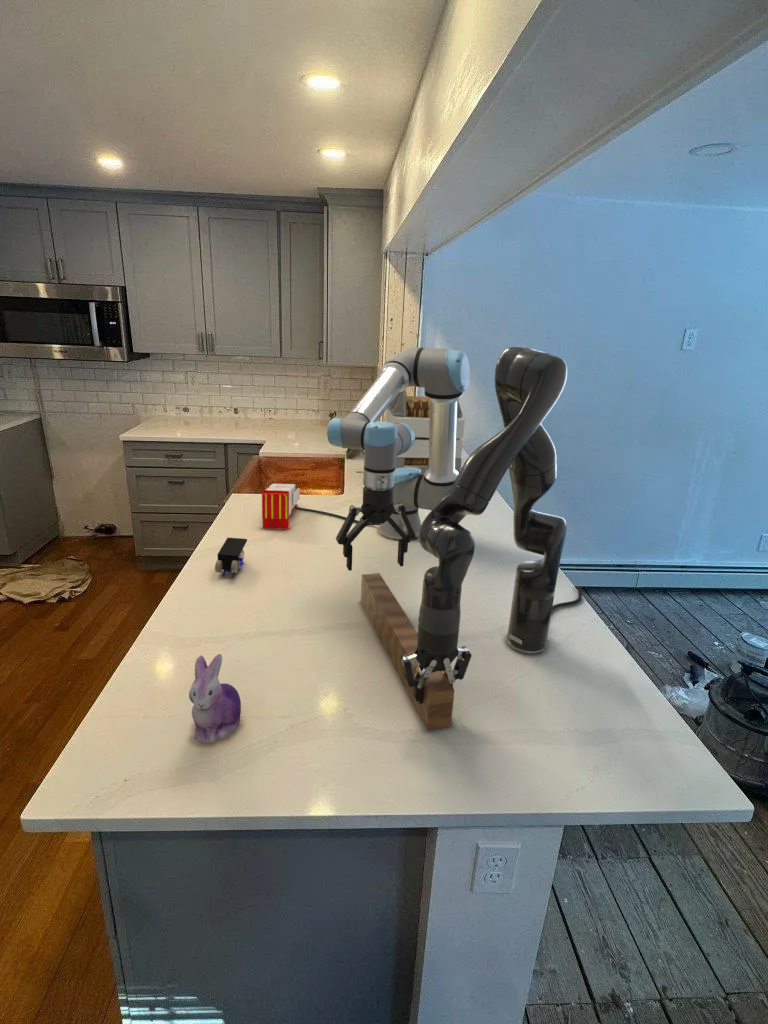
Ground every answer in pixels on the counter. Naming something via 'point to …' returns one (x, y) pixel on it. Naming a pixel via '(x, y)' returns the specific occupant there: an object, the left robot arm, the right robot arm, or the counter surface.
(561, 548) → the right robot arm
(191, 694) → the figurine
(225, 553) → the figurine character
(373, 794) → the counter surface
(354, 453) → the fossil
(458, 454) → the slatted crate
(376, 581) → the beam
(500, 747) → the counter surface
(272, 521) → the toy
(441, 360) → the left robot arm
